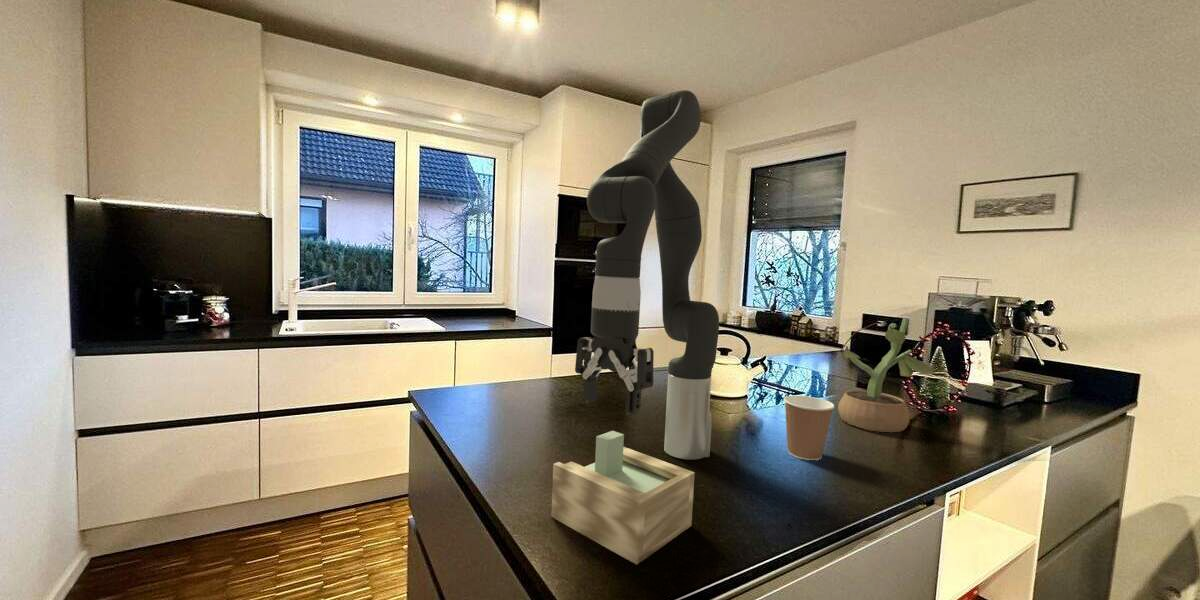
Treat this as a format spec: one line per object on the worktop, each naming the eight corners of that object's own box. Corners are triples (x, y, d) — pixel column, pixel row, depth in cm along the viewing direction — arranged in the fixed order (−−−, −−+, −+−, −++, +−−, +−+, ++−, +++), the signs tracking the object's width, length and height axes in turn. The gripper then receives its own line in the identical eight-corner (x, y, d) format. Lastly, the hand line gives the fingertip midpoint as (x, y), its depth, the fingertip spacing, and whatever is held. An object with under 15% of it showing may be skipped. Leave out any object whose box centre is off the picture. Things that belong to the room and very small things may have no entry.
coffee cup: (829, 451, 109) (834, 399, 108) (830, 468, 100) (835, 411, 99) (781, 442, 113) (785, 393, 113) (778, 457, 104) (782, 403, 103)
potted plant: (820, 416, 136) (828, 311, 134) (870, 413, 141) (879, 312, 139) (889, 446, 114) (900, 321, 112) (945, 441, 120) (956, 322, 118)
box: (691, 525, 75) (694, 472, 74) (636, 564, 64) (639, 503, 64) (609, 488, 86) (611, 442, 85) (551, 516, 76) (553, 463, 75)
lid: (679, 489, 74) (681, 444, 74) (638, 512, 66) (640, 463, 66) (610, 461, 83) (612, 422, 83) (567, 479, 76) (569, 436, 75)
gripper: (667, 309, 73) (661, 414, 74) (598, 301, 83) (593, 394, 84) (637, 311, 67) (630, 424, 68) (567, 302, 77) (562, 401, 78)
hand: (610, 407), depth 76 cm, fingers open, 8 cm apart
